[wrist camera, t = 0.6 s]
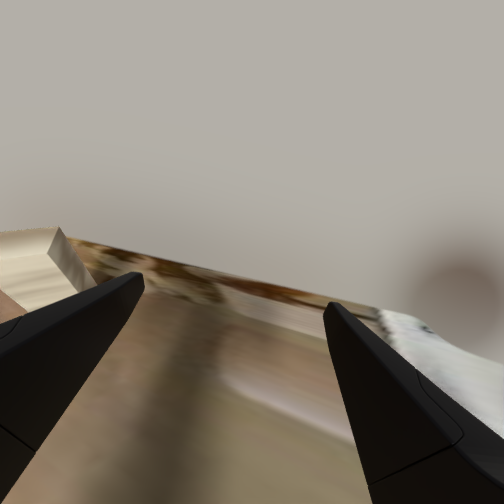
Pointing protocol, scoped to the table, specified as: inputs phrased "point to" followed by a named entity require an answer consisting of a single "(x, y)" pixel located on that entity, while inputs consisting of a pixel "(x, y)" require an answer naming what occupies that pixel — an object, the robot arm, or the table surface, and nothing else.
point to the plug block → (40, 267)
